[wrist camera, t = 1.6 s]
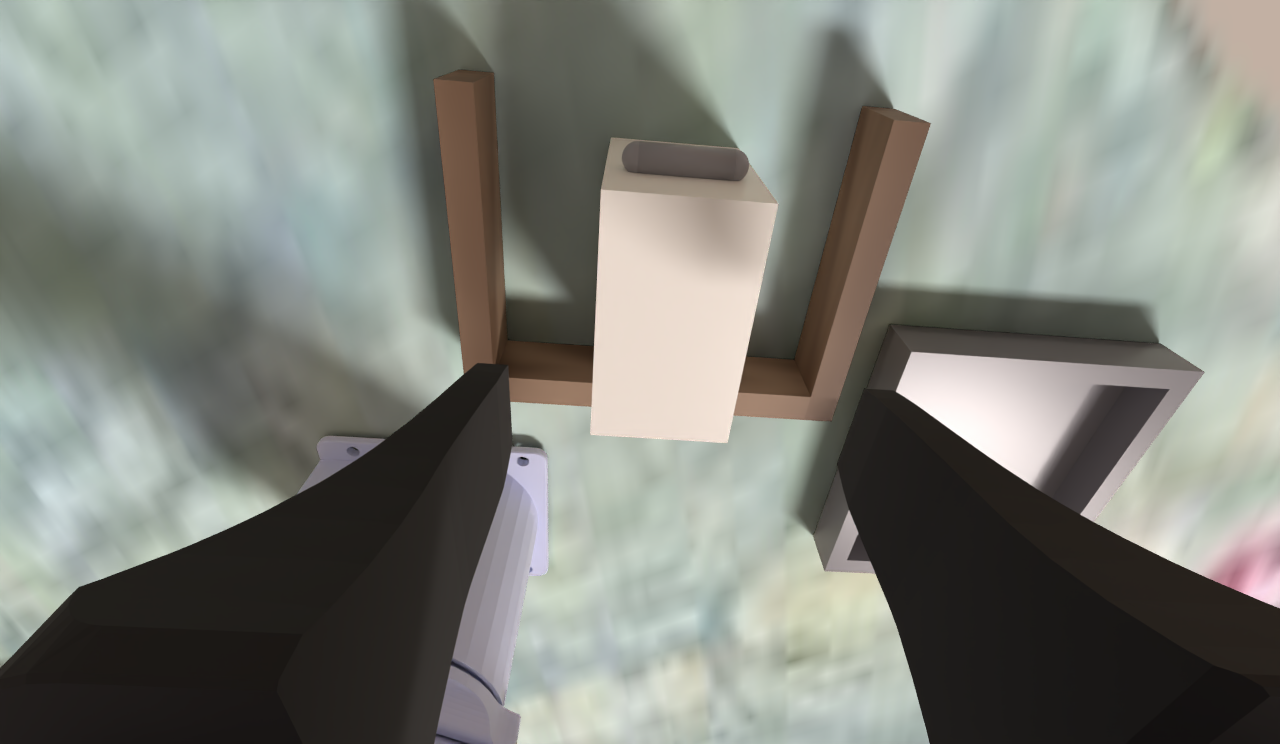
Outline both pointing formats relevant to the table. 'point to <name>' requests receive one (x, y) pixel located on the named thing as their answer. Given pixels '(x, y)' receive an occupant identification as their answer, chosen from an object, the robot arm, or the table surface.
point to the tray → (1026, 412)
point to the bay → (567, 370)
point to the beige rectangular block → (676, 288)
